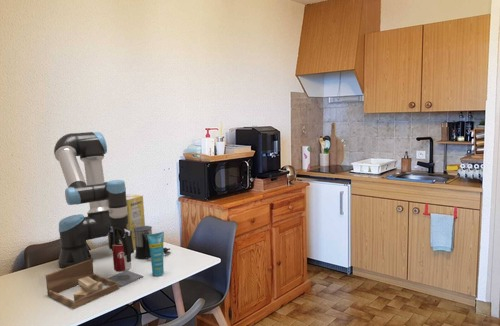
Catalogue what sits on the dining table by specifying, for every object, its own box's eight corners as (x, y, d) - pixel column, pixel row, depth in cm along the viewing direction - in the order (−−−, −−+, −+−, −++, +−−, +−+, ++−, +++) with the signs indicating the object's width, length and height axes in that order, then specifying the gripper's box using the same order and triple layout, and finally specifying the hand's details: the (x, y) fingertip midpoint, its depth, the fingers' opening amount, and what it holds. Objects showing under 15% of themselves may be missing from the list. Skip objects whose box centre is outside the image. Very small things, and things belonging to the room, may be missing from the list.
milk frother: (131, 256, 202) (129, 228, 200) (157, 248, 213) (155, 221, 211) (148, 262, 192) (145, 233, 190) (173, 253, 204) (172, 225, 202)
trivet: (103, 281, 173) (103, 279, 172) (126, 271, 182) (126, 270, 182) (120, 287, 165) (120, 285, 165) (143, 277, 175) (143, 275, 175)
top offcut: (88, 292, 154) (87, 285, 154) (78, 286, 161) (78, 279, 160) (98, 289, 157) (97, 282, 157) (88, 283, 164) (87, 276, 163)
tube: (152, 277, 174) (149, 235, 172) (148, 274, 178) (145, 233, 176) (168, 273, 178) (165, 232, 176) (164, 270, 182) (161, 230, 180)
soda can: (110, 270, 172) (108, 244, 170) (123, 265, 178) (121, 239, 176) (121, 273, 168) (119, 246, 167) (134, 267, 174) (132, 241, 173)
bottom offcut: (74, 302, 154) (73, 294, 154) (92, 289, 166) (91, 281, 165) (85, 303, 153) (85, 295, 153) (102, 289, 165) (102, 281, 164)
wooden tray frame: (47, 295, 160) (45, 274, 159) (92, 278, 176) (90, 259, 175) (74, 309, 148) (71, 286, 147) (119, 288, 164) (117, 268, 163)
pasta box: (108, 246, 219) (104, 197, 215) (123, 240, 228) (119, 193, 224) (132, 251, 210) (128, 199, 206) (146, 245, 219) (142, 195, 215)
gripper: (97, 215, 173) (101, 265, 176) (125, 221, 161) (129, 274, 164) (112, 211, 179) (116, 259, 182) (140, 216, 167) (144, 268, 170)
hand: (122, 266), depth 173 cm, fingers closed on soda can, 7 cm apart
